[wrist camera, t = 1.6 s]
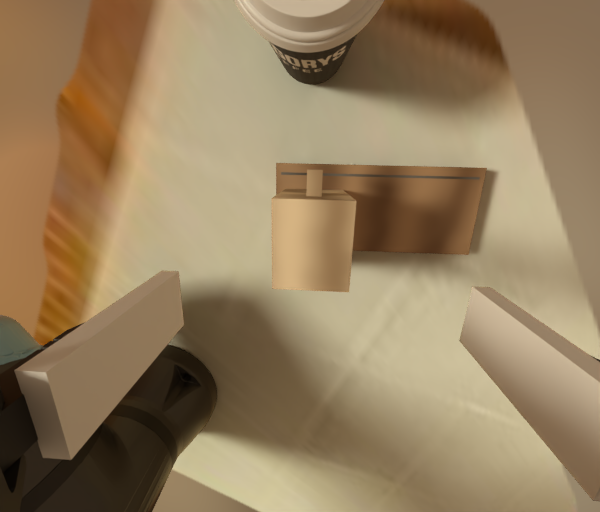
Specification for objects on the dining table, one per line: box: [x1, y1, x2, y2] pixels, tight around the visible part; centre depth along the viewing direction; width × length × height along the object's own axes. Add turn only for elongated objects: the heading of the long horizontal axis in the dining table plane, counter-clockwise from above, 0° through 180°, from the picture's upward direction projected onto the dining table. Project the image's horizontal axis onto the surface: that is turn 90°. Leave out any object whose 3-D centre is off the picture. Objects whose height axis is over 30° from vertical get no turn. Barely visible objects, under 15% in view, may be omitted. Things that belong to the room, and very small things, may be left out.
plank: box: [276, 163, 487, 255], centre depth 31 cm, size 21×9×2 cm, turn 89°
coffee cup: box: [234, 0, 384, 84], centre depth 20 cm, size 10×10×15 cm
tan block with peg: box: [272, 170, 356, 292], centre depth 26 cm, size 6×10×12 cm, turn 179°
